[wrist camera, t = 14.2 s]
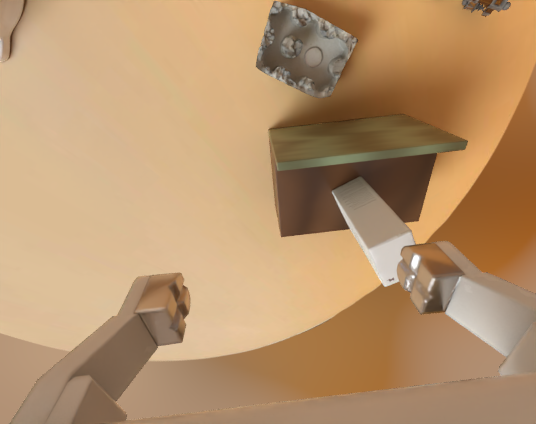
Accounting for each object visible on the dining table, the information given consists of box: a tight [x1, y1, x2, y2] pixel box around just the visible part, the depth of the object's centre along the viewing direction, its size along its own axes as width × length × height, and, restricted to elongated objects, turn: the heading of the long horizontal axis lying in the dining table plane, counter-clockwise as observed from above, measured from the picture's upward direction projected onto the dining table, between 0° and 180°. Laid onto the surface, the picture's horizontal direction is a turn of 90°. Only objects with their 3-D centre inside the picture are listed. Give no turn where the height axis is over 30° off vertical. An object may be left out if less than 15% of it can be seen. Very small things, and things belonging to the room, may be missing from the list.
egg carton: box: [256, 1, 358, 98], centre depth 31 cm, size 11×8×4 cm
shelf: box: [268, 114, 468, 237], centre depth 35 cm, size 20×13×13 cm, turn 95°
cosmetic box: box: [332, 177, 416, 287], centre depth 29 cm, size 6×4×12 cm
